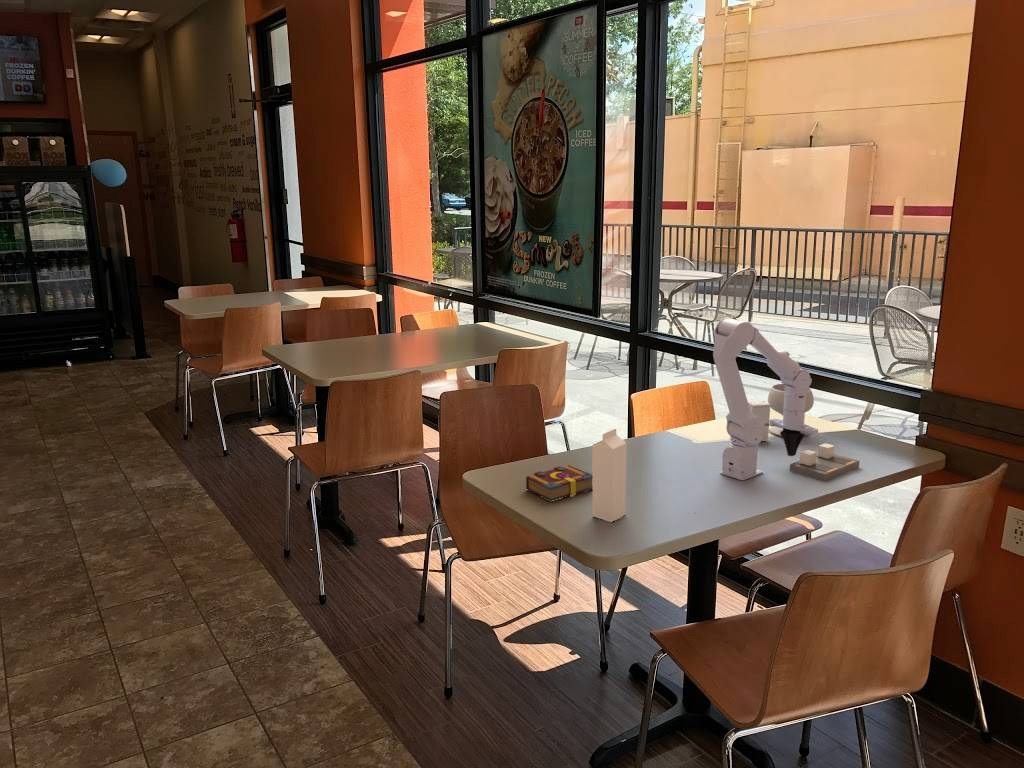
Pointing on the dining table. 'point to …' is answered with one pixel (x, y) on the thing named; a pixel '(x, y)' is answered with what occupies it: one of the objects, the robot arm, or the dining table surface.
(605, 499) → the milk
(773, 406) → the chalice
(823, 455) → the cream cube
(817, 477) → the switch board
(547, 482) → the decorative book
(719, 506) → the dining table surface
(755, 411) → the skincare box
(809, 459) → the cream white cube
